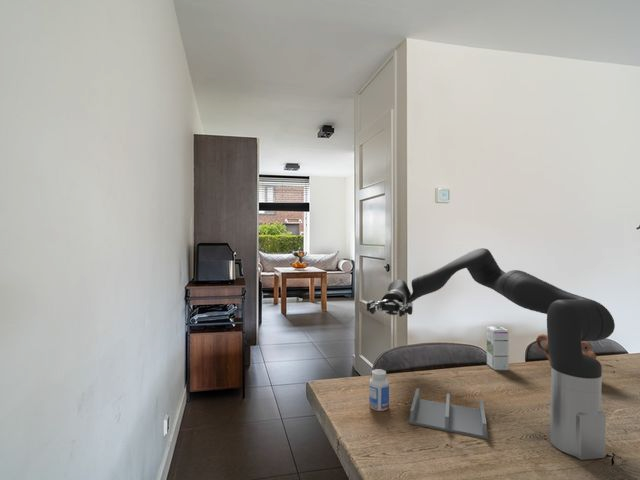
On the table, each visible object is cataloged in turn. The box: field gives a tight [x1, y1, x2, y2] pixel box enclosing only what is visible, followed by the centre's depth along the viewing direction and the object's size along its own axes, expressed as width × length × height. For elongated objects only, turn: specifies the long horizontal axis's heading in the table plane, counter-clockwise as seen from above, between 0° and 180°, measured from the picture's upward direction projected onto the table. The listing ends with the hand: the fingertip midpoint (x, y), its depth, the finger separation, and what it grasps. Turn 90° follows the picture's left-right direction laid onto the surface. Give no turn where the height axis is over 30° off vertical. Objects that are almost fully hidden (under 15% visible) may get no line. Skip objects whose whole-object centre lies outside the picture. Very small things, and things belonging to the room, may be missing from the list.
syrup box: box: [486, 325, 510, 371], centre depth 129 cm, size 6×6×14 cm
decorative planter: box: [535, 334, 597, 366], centre depth 124 cm, size 20×12×14 cm, turn 28°
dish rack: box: [408, 388, 489, 440], centre depth 92 cm, size 14×18×4 cm
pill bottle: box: [368, 368, 390, 412], centre depth 97 cm, size 6×5×10 cm
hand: (385, 311), depth 106 cm, fingers open, 8 cm apart
